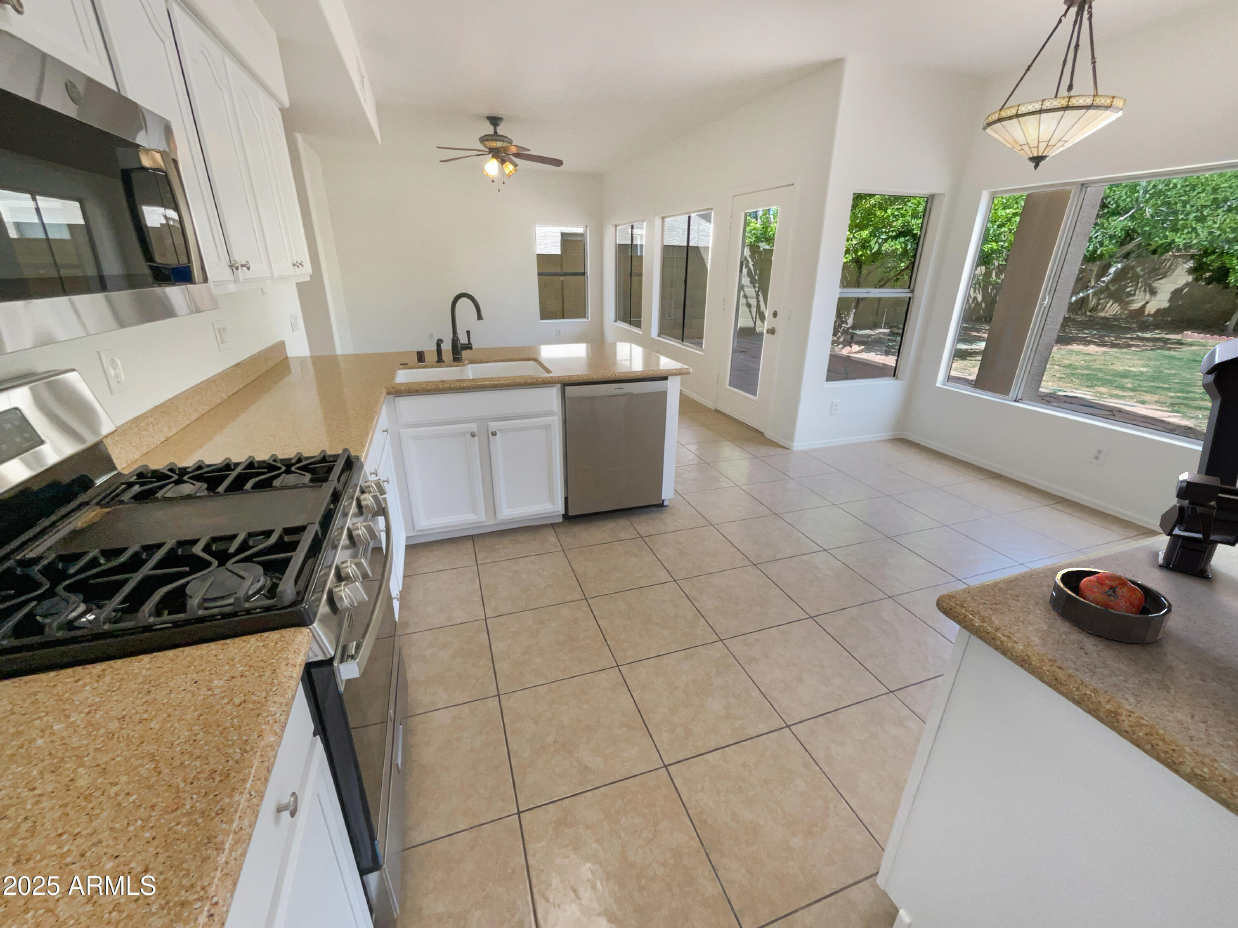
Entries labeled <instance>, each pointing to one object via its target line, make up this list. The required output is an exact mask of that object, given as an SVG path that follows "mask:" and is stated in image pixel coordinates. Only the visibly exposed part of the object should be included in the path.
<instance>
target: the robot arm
mask: <svg viewBox="0 0 1238 928" xmlns="http://www.w3.org/2000/svg"><path fill="white" fill-rule="evenodd" d="M1199 373H1200V374H1201V375H1202V381H1201V387H1202V388H1203V390H1204V392H1206V394H1207V395H1208V397H1209V398H1210V400H1211V405H1210V410H1209V413H1208V419H1207V423H1206V429H1205V433H1204V437H1203V442H1202V447H1201V451H1200V455H1199V461H1198V466H1197V470H1196V473H1192V472H1185V473H1183V474H1180V475H1179V477H1178V479H1177V482H1176V485H1175V498H1176V499H1177V500H1176V503H1175V504H1173V505H1172V506H1171V507H1169V508H1168V509H1167V510H1166V511H1164V512H1163V513H1162V514H1161V516H1160V520H1159V525H1158V526H1159V528H1160V529H1161V531H1162V532H1163V534H1164V536H1165V537H1169V539H1168V541H1167V543H1166V547H1165V550H1164V551H1161V550H1160V551H1159V552H1158V561H1157V566H1158V567H1160V568H1163V569H1167V570H1171V571H1175V572H1179V573H1183V574H1187V575H1191V576H1196V577H1200V578H1202V579H1203V578H1204V579H1208V580H1210V579H1211V580H1212V577H1213V572H1212V561H1213V558H1214V555H1215V553H1216V550H1217V547H1218V546H1219V545H1224V546H1229V547H1234V548H1235V547H1236V546H1237V545H1238V487H1237V485H1238V337H1235V338H1232V339H1229V340H1226V341H1223V342H1221V343H1218V344H1216V345H1215V346H1214V347H1213V348H1212V349H1211V350H1210V351H1208V353H1207V354H1205V356H1204V357H1203V358H1202V361H1201V364H1200V372H1199Z"/></svg>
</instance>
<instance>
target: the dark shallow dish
mask: <svg viewBox="0 0 1238 928" xmlns="http://www.w3.org/2000/svg"><path fill="white" fill-rule="evenodd" d="M1100 573H1112V572H1111V571H1106V570H1101V569H1095V568H1082V567H1073V568H1066V569H1063V570H1060V571H1059V572H1057V573H1056V576H1055V579H1054V582H1053V586H1052V589H1051V592H1050V597H1049V599H1048V603H1049V604H1050V607H1051V609H1052V610H1053V611H1054V612H1055V613H1056V614H1057V615H1058V616H1059V617H1060V618H1062V619H1064V620H1065V621H1067V622H1068V623H1070V624H1071V625H1073V626H1076V627H1077V628H1080V629H1082V630H1084V631H1085V632H1088V633H1091V634H1094V635H1097V636H1100V637H1103V638H1106V639H1109V640H1115V641H1119V642H1124V643H1133V644H1134V643H1135V644H1146V643H1147V644H1148V643H1153V642H1157V641H1158V640H1159V639H1162V637H1163V636H1164V633H1165V631H1166V629H1167V627H1168V623H1169V620H1170V618H1171V615H1172V613H1173V604H1172V603H1171V602H1170V600H1169V599H1168V598H1167V597H1166V596H1165V595H1164V594H1162V593H1161V592H1160V591H1158V590H1157V589H1155V588H1154V587H1151V586H1149V585H1147V584H1145V583H1143V582H1141V581H1139V580H1136V579H1133V578H1130V577H1127V576H1125V575H1122V574H1120V575H1121V576H1123V577H1124V578H1126V579H1127V580H1128V581H1129V582H1130V583H1131V584H1132V585H1134V586H1136V587H1138V588H1139V589H1140V590H1141V591H1142V593H1143V594H1144V605H1143V606H1142V609H1141V611H1140V612H1139V614H1138V615H1134V614H1128V613H1123V612H1118V611H1114V610H1110V609H1107V608H1104V607H1100V606H1098V605H1095V604H1093V603H1090V602H1088V601H1086V600H1083V599H1082V598H1080V597H1078V596H1079V586H1080V583H1081V582H1082V581H1083V580H1084V579H1085V578H1087V577H1092V576H1094V575H1097V574H1100ZM1116 574H1117V573H1116ZM1117 575H1119V574H1117Z"/></svg>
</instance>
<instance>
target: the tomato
mask: <svg viewBox="0 0 1238 928" xmlns="http://www.w3.org/2000/svg"><path fill="white" fill-rule="evenodd" d="M1121 575H1122V574H1118V575H1117V573H1115V572H1111V573H1100V574H1097V575H1094V576H1092V577H1087V578H1085V579H1084V580H1083V581H1082V582H1081V583H1080V586H1079V596H1078V597H1080V598H1082V599H1083V600H1086V601H1088V602H1090V603H1093V604H1095V605H1098V606H1100V607H1104V608H1107V609H1110V610H1114V611H1118V612H1123V613H1128V614H1134V615H1138V614H1139V612H1140V611H1141V609H1142V606H1143V605H1144V594H1143V593H1142V591H1141V590H1140V589H1139V588H1138V587H1136V586H1134V585H1132V584H1131V583H1130V582H1129V581H1128V580H1127V579H1126V578H1124V577H1123V576H1124V575H1122V576H1121Z"/></svg>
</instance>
